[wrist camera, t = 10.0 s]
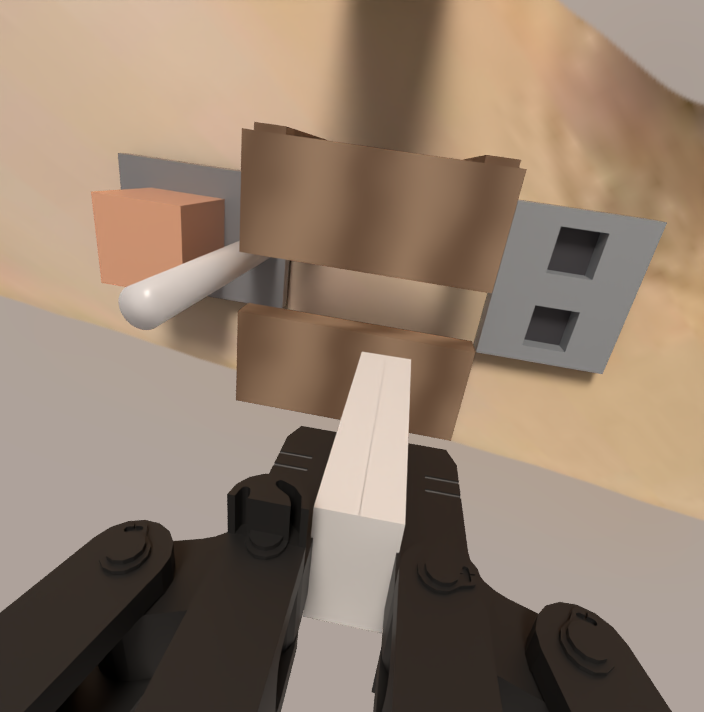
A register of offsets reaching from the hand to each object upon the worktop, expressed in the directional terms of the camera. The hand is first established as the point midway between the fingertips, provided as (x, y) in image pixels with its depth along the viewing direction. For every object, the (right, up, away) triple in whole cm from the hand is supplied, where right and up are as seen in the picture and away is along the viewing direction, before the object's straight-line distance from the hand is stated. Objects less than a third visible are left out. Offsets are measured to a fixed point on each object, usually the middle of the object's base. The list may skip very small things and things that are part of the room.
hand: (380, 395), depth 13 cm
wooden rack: (-6, +12, +28) cm, 31 cm away
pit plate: (+18, +8, +27) cm, 33 cm away
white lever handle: (-15, +13, +29) cm, 35 cm away
